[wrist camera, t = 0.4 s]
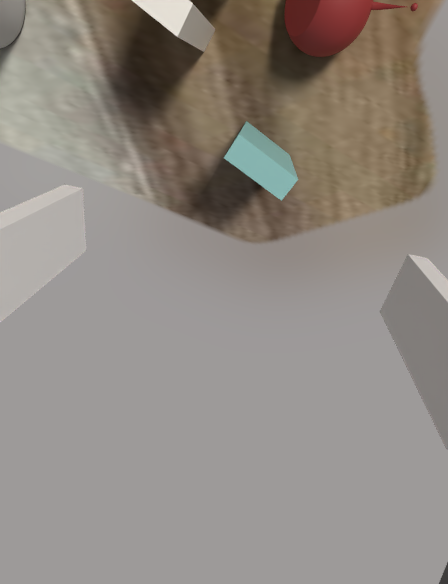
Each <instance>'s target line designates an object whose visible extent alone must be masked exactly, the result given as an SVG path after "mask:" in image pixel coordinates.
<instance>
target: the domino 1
mask: <svg viewBox="0 0 448 584" xmlns="http://www.w3.org/2000/svg"><path fill="white" fill-rule="evenodd" d="M132 1H133V2H134V3H136V4H137V5H138V6H139V7H141V8H142V9H143V10H144V11H146V12H147V13H148V14H149V15H151V16H152V17H153V18H154V19H156V20H157V21H158V22H159V23H161V24H162V25H163V26H164V27H166V28H167V29H168V30H169V31H171V32H172V33H173V34H174V35H176V36H177V37H178V38H180V39H182V40H184V41H185V42H187V43H189V44H191V45H193V46H194V47H196V48H198V49H200V50H201V51H203V52H204V51H205V49H206V47H207V45H208V43H209V41H210V39H211V37H212V36H213V34H214V32H215V30H216V29H215V28H214V27H213V26H212V25H211V24H210V22H209V21H208V20H207V19H206V18H205V17H204V16H203V14H202V13H201V12H200V11H199V10H198V9H197V8H196V6H195V5H194V4H193V3H192V2H190V1H189V0H132Z"/></svg>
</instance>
